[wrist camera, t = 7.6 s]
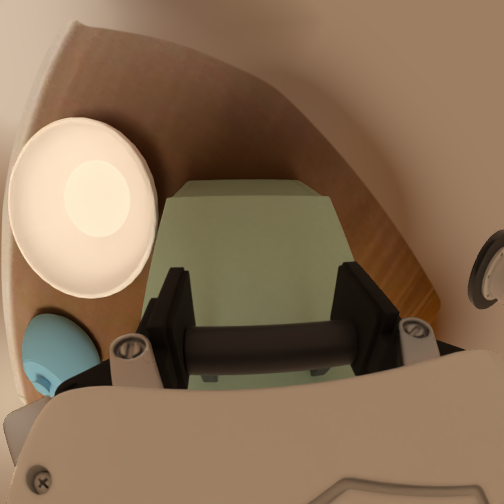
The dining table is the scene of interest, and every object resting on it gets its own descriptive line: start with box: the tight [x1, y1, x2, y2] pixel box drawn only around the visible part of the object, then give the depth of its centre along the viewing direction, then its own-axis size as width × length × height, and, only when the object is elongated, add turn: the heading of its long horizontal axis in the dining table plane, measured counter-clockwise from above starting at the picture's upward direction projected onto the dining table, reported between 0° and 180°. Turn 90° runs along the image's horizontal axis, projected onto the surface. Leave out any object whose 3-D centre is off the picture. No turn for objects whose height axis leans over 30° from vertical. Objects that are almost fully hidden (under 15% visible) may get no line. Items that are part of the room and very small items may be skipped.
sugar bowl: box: [22, 314, 101, 397], centre depth 33 cm, size 15×15×12 cm
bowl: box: [8, 118, 159, 298], centre depth 26 cm, size 20×20×7 cm
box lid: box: [141, 195, 359, 390], centre depth 14 cm, size 15×13×5 cm
